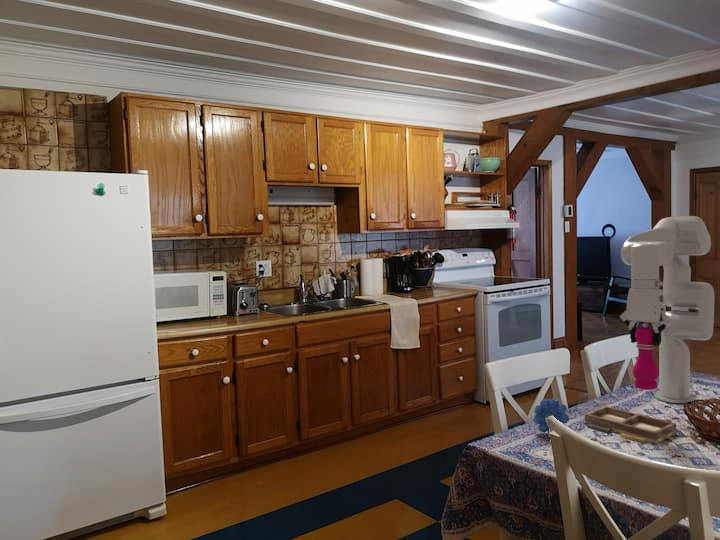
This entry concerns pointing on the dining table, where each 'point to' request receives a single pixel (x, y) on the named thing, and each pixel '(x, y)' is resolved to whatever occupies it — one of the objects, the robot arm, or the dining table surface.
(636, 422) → the board
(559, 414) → the grapes
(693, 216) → the robot arm
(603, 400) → the dining table surface
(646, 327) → the pepper mill
